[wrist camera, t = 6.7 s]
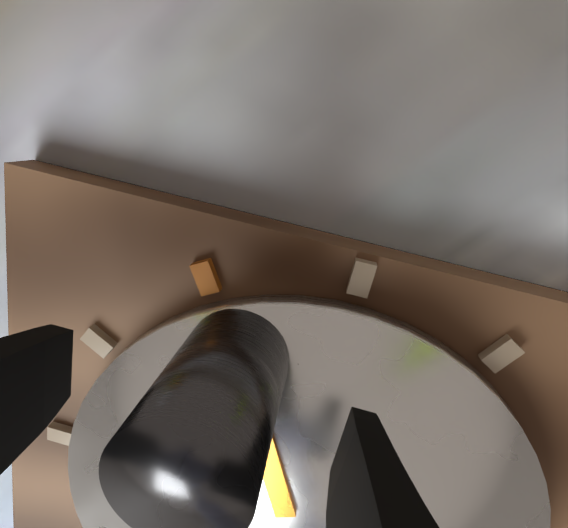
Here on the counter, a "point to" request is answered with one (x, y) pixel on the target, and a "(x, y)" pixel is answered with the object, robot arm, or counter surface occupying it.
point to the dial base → (241, 283)
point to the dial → (291, 421)
